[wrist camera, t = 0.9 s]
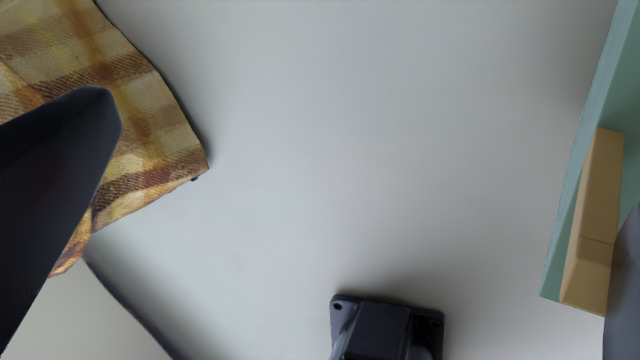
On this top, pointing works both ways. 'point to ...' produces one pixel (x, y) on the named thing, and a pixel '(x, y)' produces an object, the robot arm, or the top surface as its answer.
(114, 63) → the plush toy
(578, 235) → the tote bag
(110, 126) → the robot arm
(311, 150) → the top surface
